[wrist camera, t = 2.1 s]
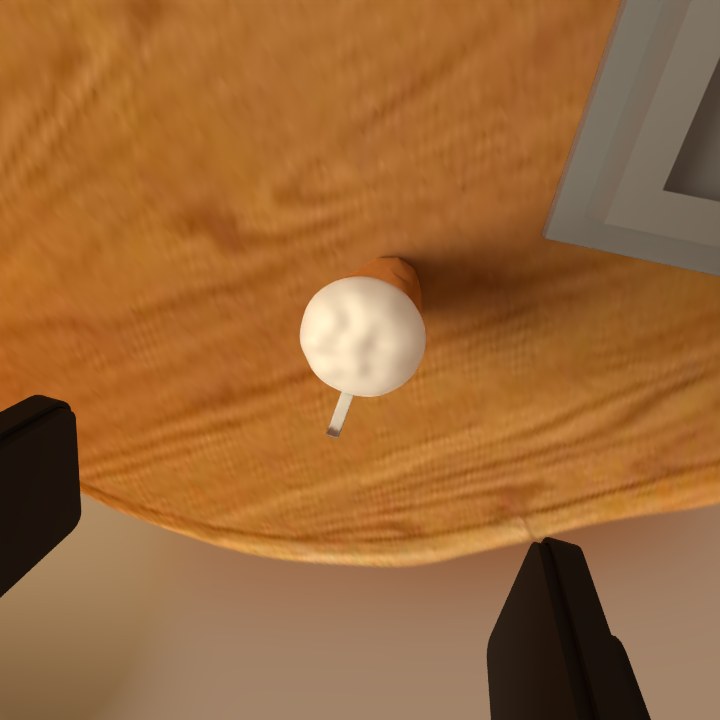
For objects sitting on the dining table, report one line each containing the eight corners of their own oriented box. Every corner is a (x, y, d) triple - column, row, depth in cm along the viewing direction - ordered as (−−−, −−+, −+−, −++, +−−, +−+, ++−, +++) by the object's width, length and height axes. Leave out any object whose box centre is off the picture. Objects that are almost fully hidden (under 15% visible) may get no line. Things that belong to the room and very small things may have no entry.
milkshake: (334, 329, 26) (269, 417, 16) (357, 232, 23) (297, 272, 14) (414, 352, 25) (393, 456, 16) (445, 257, 23) (440, 315, 14)
